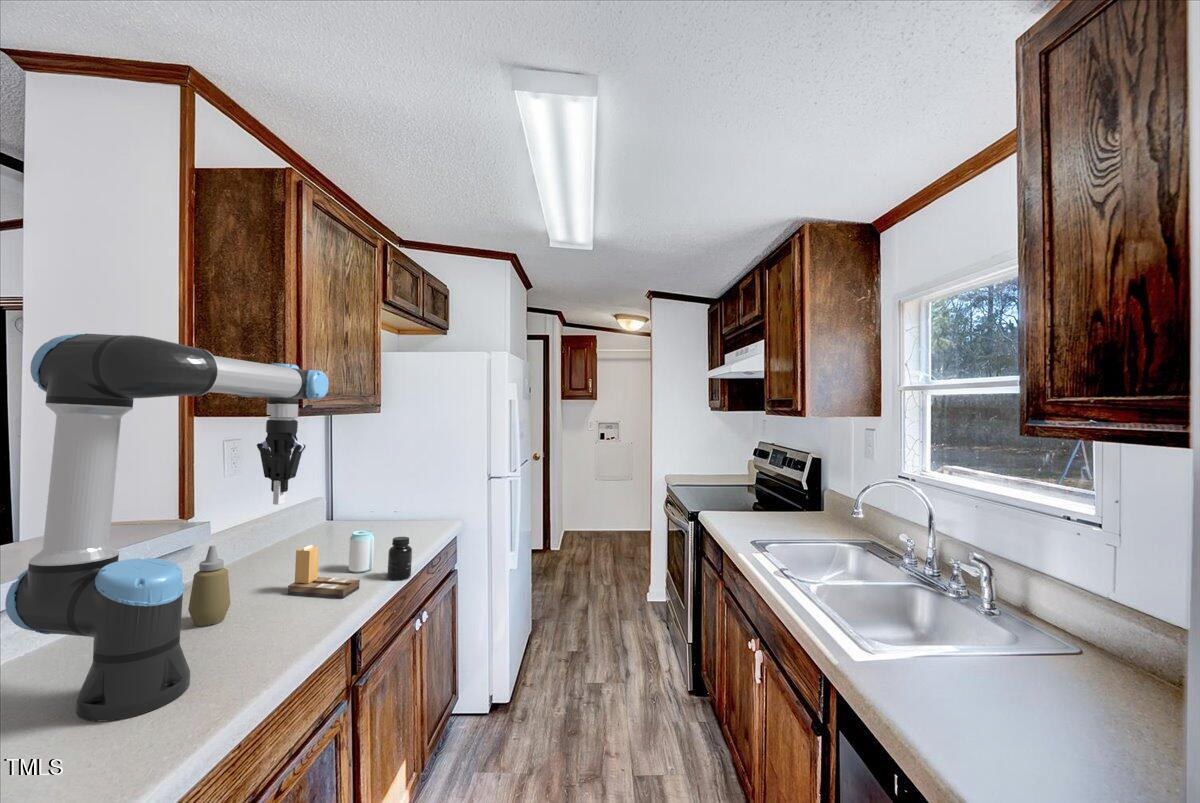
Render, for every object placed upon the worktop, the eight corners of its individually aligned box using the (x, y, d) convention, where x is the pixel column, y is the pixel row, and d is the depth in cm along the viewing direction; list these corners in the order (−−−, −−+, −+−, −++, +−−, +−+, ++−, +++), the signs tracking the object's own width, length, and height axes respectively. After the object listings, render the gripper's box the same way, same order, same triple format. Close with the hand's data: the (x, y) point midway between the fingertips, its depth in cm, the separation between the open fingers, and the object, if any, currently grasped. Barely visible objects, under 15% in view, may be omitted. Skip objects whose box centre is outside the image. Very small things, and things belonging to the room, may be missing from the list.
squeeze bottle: (207, 631, 119) (210, 552, 119) (178, 626, 121) (181, 549, 121) (238, 617, 127) (241, 543, 127) (210, 613, 129) (214, 540, 129)
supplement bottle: (413, 578, 159) (415, 539, 159) (390, 582, 155) (391, 542, 155) (407, 572, 165) (409, 534, 165) (385, 575, 161) (386, 536, 161)
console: (287, 594, 143) (287, 585, 143) (306, 584, 151) (306, 575, 151) (343, 598, 141) (343, 589, 141) (359, 588, 149) (359, 579, 149)
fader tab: (294, 587, 145) (296, 547, 145) (303, 583, 149) (305, 544, 149) (308, 588, 144) (309, 548, 144) (317, 584, 148) (318, 545, 148)
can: (343, 572, 163) (344, 533, 163) (358, 565, 170) (360, 528, 170) (362, 574, 161) (364, 535, 161) (377, 568, 168) (379, 530, 168)
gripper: (313, 419, 149) (309, 502, 148) (269, 418, 150) (266, 500, 149) (295, 420, 141) (292, 507, 141) (250, 418, 142) (246, 504, 142)
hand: (279, 503), depth 145 cm, fingers closed
